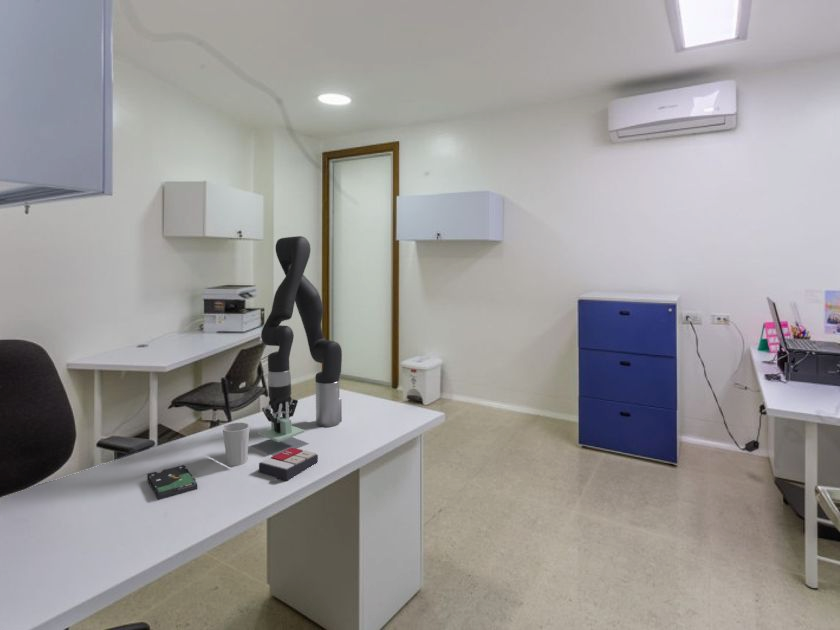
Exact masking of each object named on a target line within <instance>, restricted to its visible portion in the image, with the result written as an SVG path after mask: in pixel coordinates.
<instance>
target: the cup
mask: <svg viewBox="0 0 840 630" xmlns="http://www.w3.org/2000/svg"><path fill="white" fill-rule="evenodd" d="M222 434H223V440H224V441H223V442H224V449H225V450H224V451H225V456H226V464H227V467H228V468H229V467H230V468H231V467H236V466H237V467H238V466H243V465H245V464H246V463H248V461H249V456H248V455H249V439H250V437H249V436H250V424H249V423H247V422H232V423H229V424H226V425H224V426H222Z"/></svg>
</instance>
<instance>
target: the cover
mask: <svg viewBox="0 0 840 630" xmlns="http://www.w3.org/2000/svg"><path fill="white" fill-rule="evenodd" d="M270 423H271V425H270V426H271V427H270V428H269V427H268V428H267V429H263V430H262V431H259V432H258V435H259V436H262V437H263V438H267V439H268V440H270V439H271V440H274V441H276V442H280V441H283V440H285V439H288V438H291V437H293V438H294V437H296V436H298V435H301V434H304V433H305V432H306V431H305V429H302V428H299V427H297V426H294V425H292V420H291V419H290V418H289V419H286V418H283V417H282V416H280V431H281V432H280V433H277V432H275V431H274V423H272V422H270Z"/></svg>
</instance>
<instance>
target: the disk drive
mask: <svg viewBox="0 0 840 630" xmlns="http://www.w3.org/2000/svg"><path fill="white" fill-rule="evenodd" d="M146 475H147V476H146V477H147V482H148V484H149V486H150V485H151V486H150V488H151V490H152V492H153V493H154V495H155V497H156V498H157V501H160V500H164V499H167V498H168V499H169V498H171V497H175V496H178V495H182V494H185V493H189V492H192V491H195V490H196V491H197V490H198V482H197V480H196V478H195V477H194V475H192V473H191V472H190V471H189V469H188V467H187V466H186V465H185V464H182V465H178V466H173V467H171V468H165V469H163V470H161V471H160V472H157V471H153V472H148V473H147V474H146Z"/></svg>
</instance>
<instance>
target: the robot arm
mask: <svg viewBox="0 0 840 630" xmlns="http://www.w3.org/2000/svg"><path fill="white" fill-rule="evenodd" d="M275 253H276V257H277V260H278V262H279V264H280V266H281V268H282V270H283V273H284V275H285V277H284V279H283V280H282V281H281V282H280V284H279V285H278V287H277V290H276V291H275V294H274V297H273V302H272V307H271V312H270V314H269V315H268V317H267V318H266V321H265V323H264V325H263V327H262V329H261V333H260V338H261V341H262V343H263V344H264V345H266V346H270V347H271V346H272V347H273V346H274V347H278V351H275V352H272V353H269V354H268V356H267V370H268V371H267V372H268V374H267V390H268V391H267V393H268V397H269V401H268V405H267V406H266V407H262V408H261V410H262V413H263V414H264V415H265V418H266V419H267V421H268V422H270V423H271V422H272V423H274V431H275V432H277V433H280V432H281V431H280V417H283V418H286V419H289V420H290V418H291V417H294V414H295V412H296V408H297V405H298V402H299V400H298V399H294V398H292V396H291V395H292V382H291V381H292V379H291V376H292V375H291V371H290V354H291V350H292V347H293V342H294V338H295V337H294V332H293V329H292V327H290V325H289V326H288V325H280V324H281V323H283V322H285V321H289V320H290V319H292V317H293V313H294V307H295V306H296V308H297V311H298V314H299V316H300V319H301V323H302V325H303V329H304V331H305V332H304V333H305V336H306V339H307V343H308V344H307V345H308V349H309V353H310V356H311V358H312V360H314V362H316V363H320V364H322V371H318V372H317V373H316V374H315V377H314V378H315V421H316V425H317V426H319V427H324V428H326V427H327V428H328V427H335V426H338V425H339V424H340V423H341V422H343V421H342V419H343V417H342V415H343V413H342V412H343V411H342V407H343V406H342V404H343V403H342V397H340V376H341V373H342V361H343V359H342V358H343V357H342V356H343V355H342V354H343V353H342V352H343V351H342V347H341V345H340V343H339V342H337V341H334V340H330V339H329V340H328V339H326V337H325V336H324V333H323V330H322V320H323V315H324V305H323V302H322V299H321V296H320V292H319V291H318V289H317V287H315V286H314V284H313V283H312V282H311V281H310V280H309V279H308V277H306V276H305V275H304V273H305V270H306V267H307V265H308V262H309V259H310V255H311V243H310V241H309V240H308V239H307V237H304V236H302V235H297V236H286V237H281V238H279V239H278V240H276V243H275Z"/></svg>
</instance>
